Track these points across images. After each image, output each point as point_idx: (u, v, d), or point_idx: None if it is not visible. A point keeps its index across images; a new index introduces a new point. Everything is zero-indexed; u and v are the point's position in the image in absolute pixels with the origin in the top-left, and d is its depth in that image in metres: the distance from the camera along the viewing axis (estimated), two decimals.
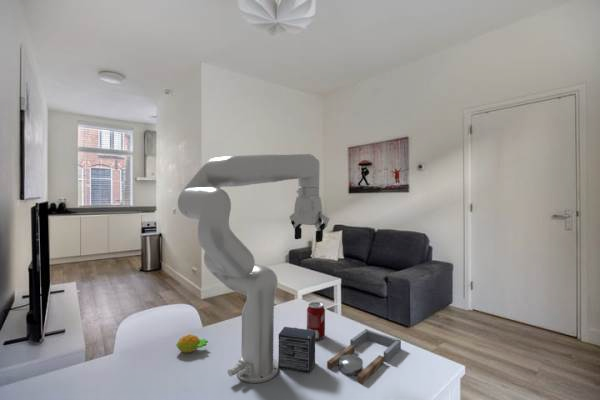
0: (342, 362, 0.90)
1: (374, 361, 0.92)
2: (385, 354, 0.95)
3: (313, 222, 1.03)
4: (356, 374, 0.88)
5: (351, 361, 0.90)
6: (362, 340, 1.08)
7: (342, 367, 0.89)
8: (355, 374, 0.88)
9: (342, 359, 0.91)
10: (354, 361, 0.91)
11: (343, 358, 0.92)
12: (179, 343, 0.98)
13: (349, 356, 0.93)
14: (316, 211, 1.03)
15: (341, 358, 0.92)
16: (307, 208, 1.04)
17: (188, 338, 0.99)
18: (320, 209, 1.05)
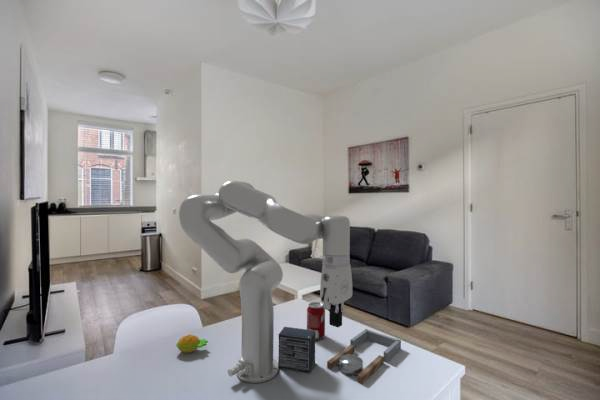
0: (342, 362, 0.90)
1: (374, 361, 0.92)
2: (385, 354, 0.95)
3: None
4: (356, 374, 0.88)
5: (351, 361, 0.90)
6: (362, 340, 1.08)
7: (342, 367, 0.89)
8: (355, 374, 0.88)
9: (342, 359, 0.91)
10: (354, 360, 0.91)
11: (343, 358, 0.92)
12: (179, 343, 0.98)
13: (349, 356, 0.93)
14: None
15: (341, 358, 0.92)
16: (347, 279, 0.83)
17: (188, 338, 0.99)
18: None
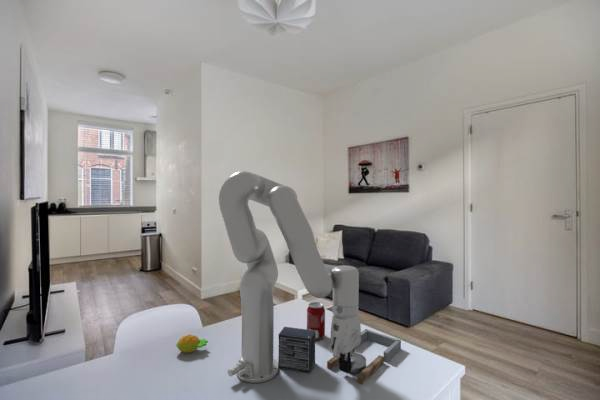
0: None
1: (374, 361, 0.92)
2: (385, 354, 0.95)
3: (360, 340, 0.89)
4: (360, 371, 0.89)
5: (355, 359, 0.91)
6: (362, 340, 1.08)
7: None
8: (359, 371, 0.89)
9: None
10: (358, 358, 0.92)
11: None
12: (179, 343, 0.98)
13: (352, 354, 0.94)
14: None
15: None
16: (356, 327, 0.87)
17: (188, 338, 0.99)
18: None
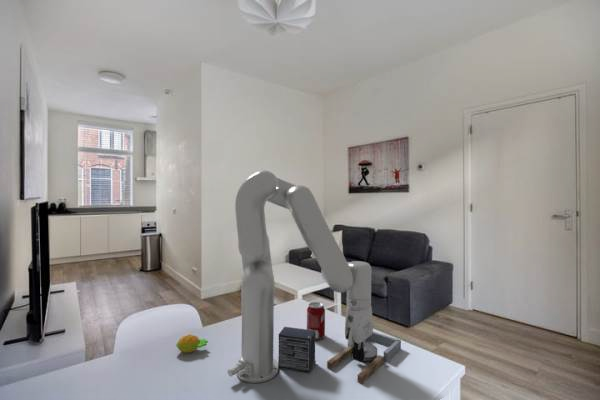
0: None
1: (374, 361, 0.92)
2: (385, 354, 0.95)
3: (372, 331, 0.96)
4: (372, 360, 0.95)
5: (367, 349, 0.97)
6: None
7: None
8: (371, 360, 0.95)
9: None
10: (370, 348, 0.98)
11: None
12: (179, 343, 0.98)
13: None
14: None
15: None
16: (369, 319, 0.93)
17: (188, 338, 0.99)
18: None
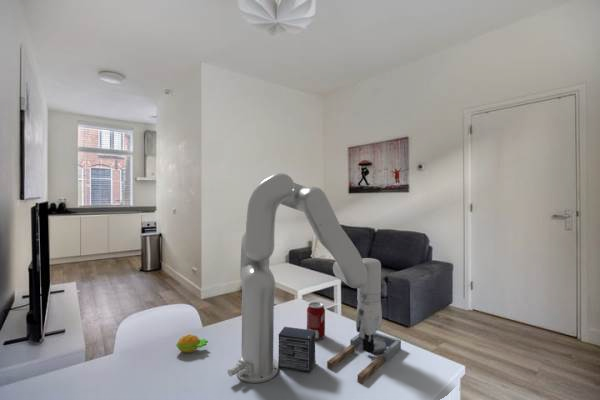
0: None
1: (374, 361, 0.92)
2: (385, 354, 0.95)
3: (381, 324, 1.01)
4: (381, 352, 1.00)
5: (376, 342, 1.03)
6: (362, 340, 1.08)
7: None
8: (380, 352, 1.00)
9: None
10: (379, 341, 1.03)
11: None
12: (179, 343, 0.98)
13: None
14: None
15: None
16: (378, 313, 0.99)
17: (188, 338, 0.99)
18: None
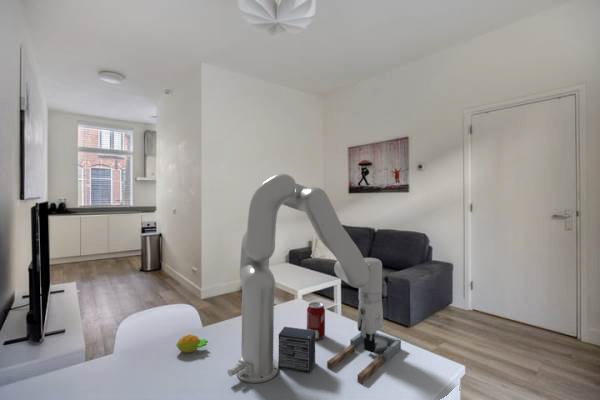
0: None
1: (374, 361, 0.92)
2: (385, 354, 0.95)
3: (382, 324, 1.02)
4: (383, 351, 1.01)
5: (378, 341, 1.03)
6: (362, 340, 1.08)
7: None
8: (382, 351, 1.01)
9: None
10: (380, 340, 1.04)
11: None
12: (179, 343, 0.98)
13: (375, 337, 1.06)
14: None
15: None
16: (379, 312, 0.99)
17: (188, 338, 0.99)
18: None
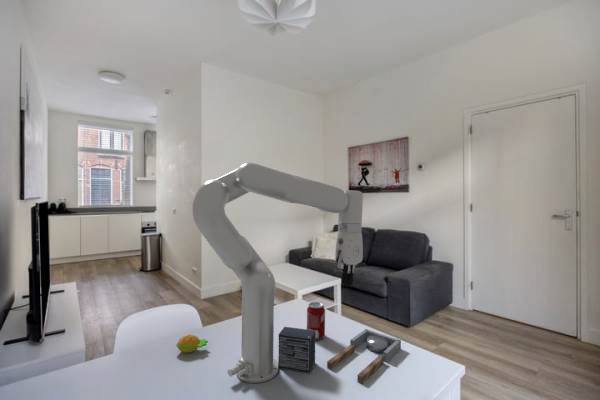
0: (370, 341, 1.03)
1: (374, 361, 0.92)
2: (385, 354, 0.95)
3: (362, 259, 0.99)
4: (383, 351, 1.01)
5: (378, 341, 1.03)
6: (362, 340, 1.08)
7: (370, 346, 1.02)
8: (382, 351, 1.01)
9: (369, 339, 1.04)
10: (380, 340, 1.04)
11: (370, 338, 1.05)
12: (179, 343, 0.98)
13: (375, 337, 1.06)
14: None
15: (368, 338, 1.05)
16: (359, 245, 0.97)
17: (188, 338, 0.99)
18: None
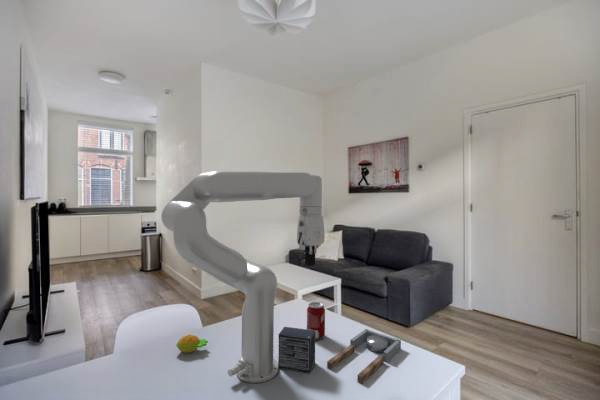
0: (370, 341, 1.03)
1: (374, 361, 0.92)
2: (385, 354, 0.95)
3: None
4: (383, 351, 1.01)
5: (378, 340, 1.03)
6: (362, 340, 1.08)
7: (370, 346, 1.02)
8: (382, 351, 1.01)
9: (369, 339, 1.04)
10: (380, 340, 1.04)
11: (370, 338, 1.05)
12: (179, 343, 0.98)
13: (374, 336, 1.06)
14: None
15: (368, 338, 1.05)
16: (319, 227, 1.02)
17: (188, 338, 0.99)
18: None
